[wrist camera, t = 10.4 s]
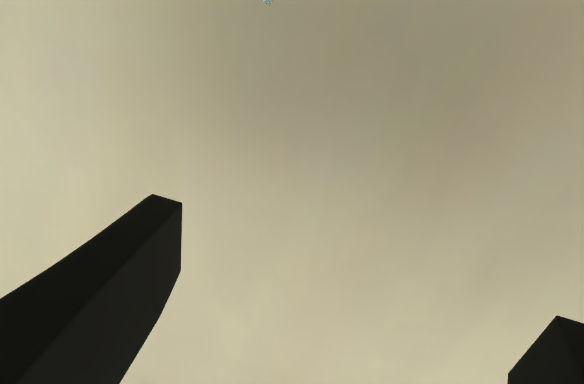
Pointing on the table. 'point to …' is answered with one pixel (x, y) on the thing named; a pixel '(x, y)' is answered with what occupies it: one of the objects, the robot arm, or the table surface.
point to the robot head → (267, 1)
